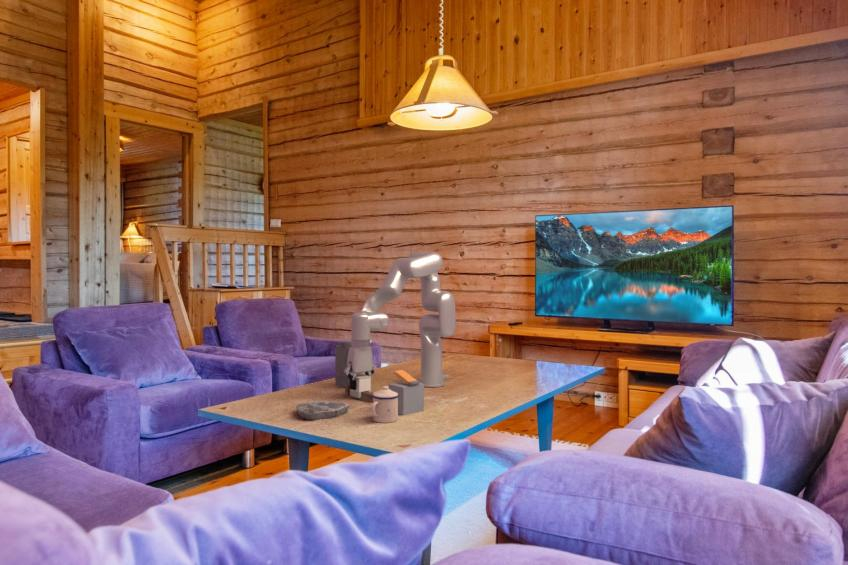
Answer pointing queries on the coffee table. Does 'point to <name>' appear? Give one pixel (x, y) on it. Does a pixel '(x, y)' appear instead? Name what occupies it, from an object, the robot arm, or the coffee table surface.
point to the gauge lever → (406, 378)
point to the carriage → (361, 385)
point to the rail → (364, 395)
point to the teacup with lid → (385, 405)
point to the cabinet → (409, 397)
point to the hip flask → (341, 364)
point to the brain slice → (321, 409)
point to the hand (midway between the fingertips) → (360, 387)
